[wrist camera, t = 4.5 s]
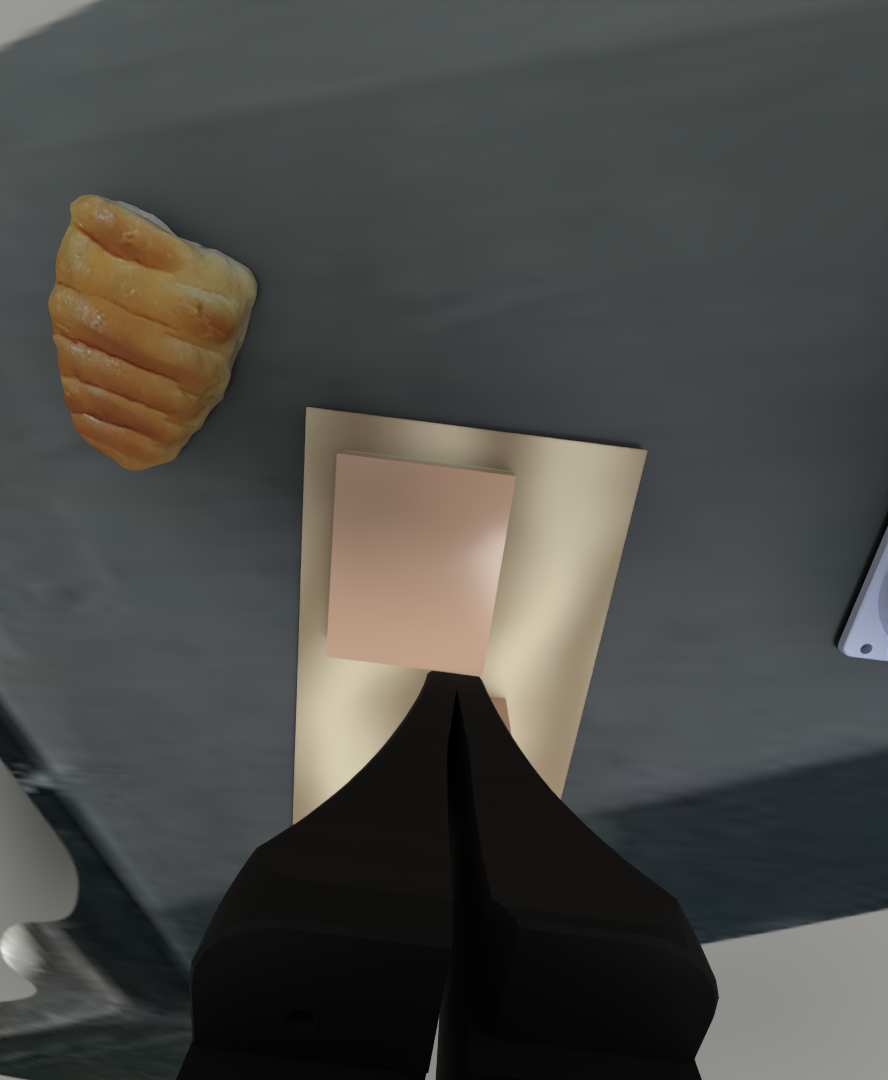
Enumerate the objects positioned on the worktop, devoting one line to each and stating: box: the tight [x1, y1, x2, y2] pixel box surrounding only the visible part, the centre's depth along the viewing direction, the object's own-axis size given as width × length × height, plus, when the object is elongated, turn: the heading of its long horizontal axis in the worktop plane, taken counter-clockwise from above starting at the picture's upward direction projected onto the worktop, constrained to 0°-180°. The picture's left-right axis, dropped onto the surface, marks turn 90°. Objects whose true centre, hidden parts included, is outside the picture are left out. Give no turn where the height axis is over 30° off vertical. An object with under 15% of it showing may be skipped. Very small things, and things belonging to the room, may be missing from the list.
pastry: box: [48, 194, 257, 471], centre depth 17 cm, size 9×7×4 cm
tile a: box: [326, 450, 516, 676], centre depth 20 cm, size 1×9×7 cm
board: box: [293, 407, 647, 825], centre depth 23 cm, size 14×24×1 cm, turn 173°
